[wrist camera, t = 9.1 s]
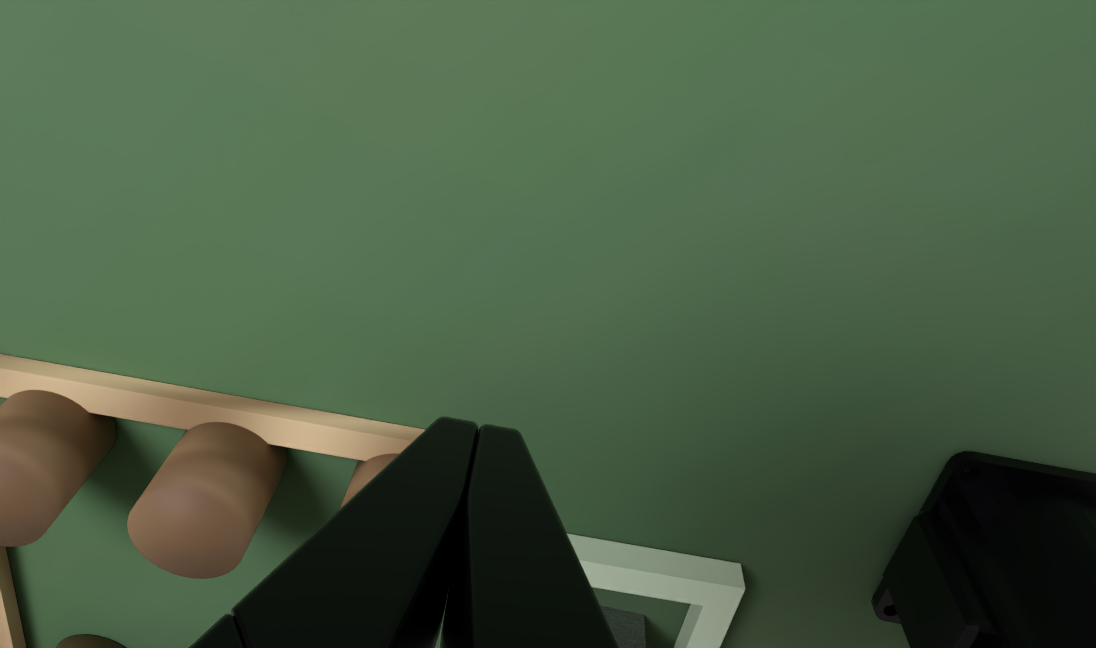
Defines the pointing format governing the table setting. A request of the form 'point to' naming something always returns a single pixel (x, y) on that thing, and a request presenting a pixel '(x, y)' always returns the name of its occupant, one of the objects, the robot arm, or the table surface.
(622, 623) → the grey knob block
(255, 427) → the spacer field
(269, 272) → the table surface
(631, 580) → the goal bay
